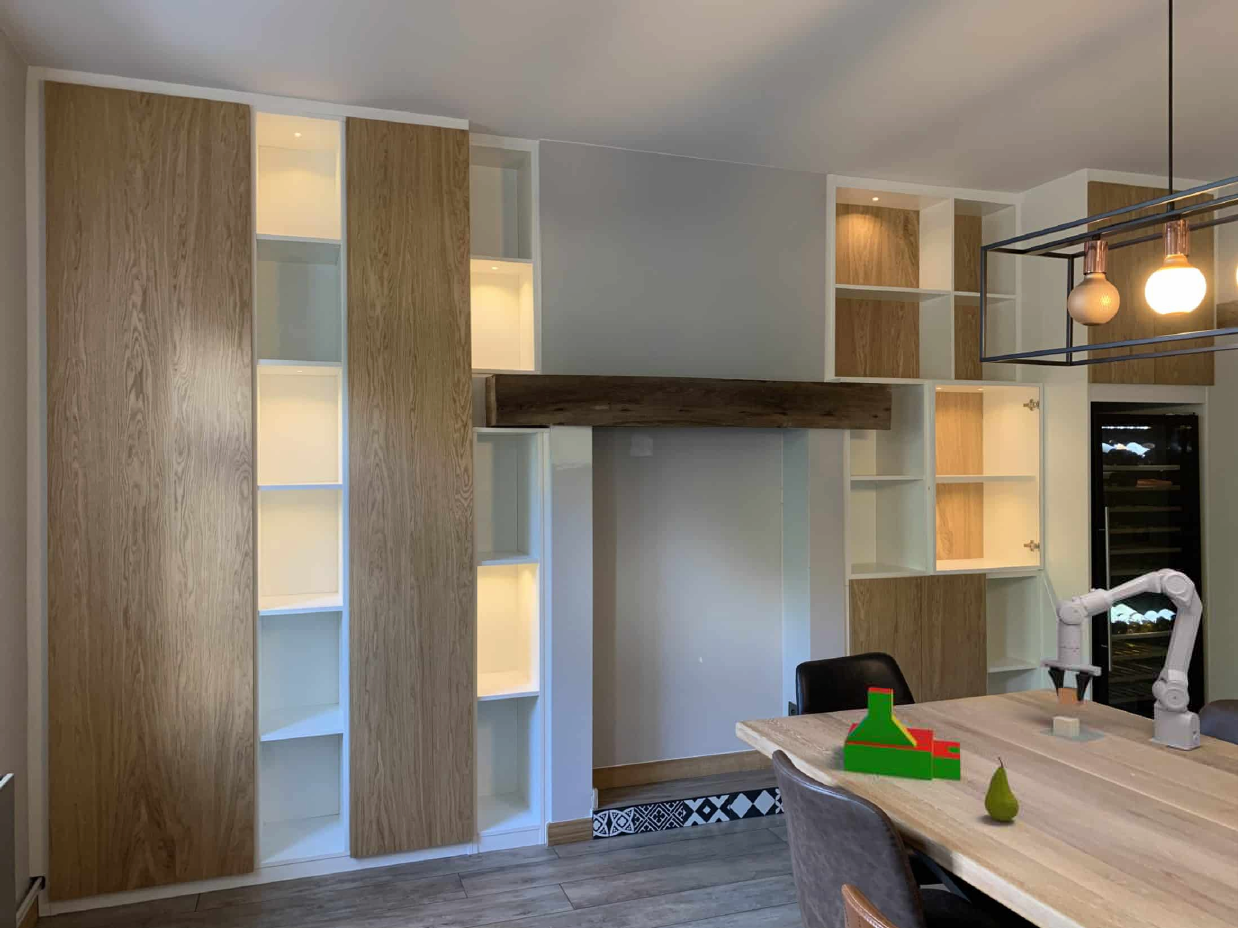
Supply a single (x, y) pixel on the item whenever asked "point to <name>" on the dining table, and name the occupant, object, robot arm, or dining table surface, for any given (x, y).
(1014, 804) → the fruit
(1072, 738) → the grey square plate
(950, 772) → the building blocks toy
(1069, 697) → the terracotta block
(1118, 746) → the dining table surface
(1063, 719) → the cream block
